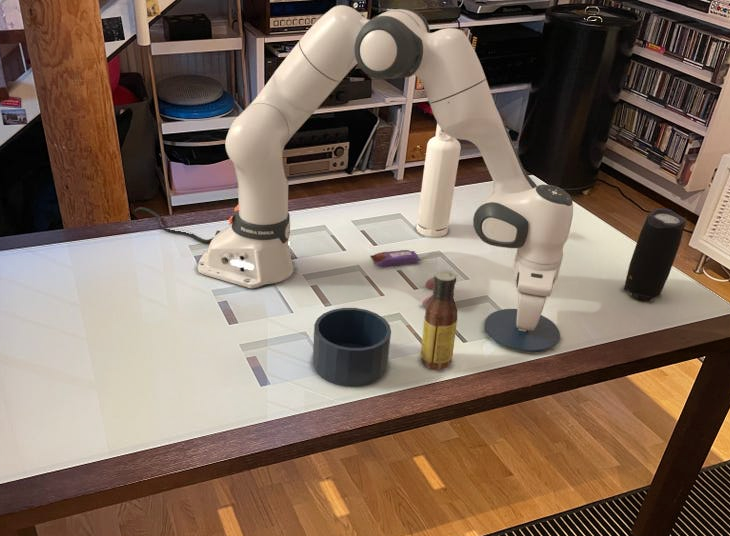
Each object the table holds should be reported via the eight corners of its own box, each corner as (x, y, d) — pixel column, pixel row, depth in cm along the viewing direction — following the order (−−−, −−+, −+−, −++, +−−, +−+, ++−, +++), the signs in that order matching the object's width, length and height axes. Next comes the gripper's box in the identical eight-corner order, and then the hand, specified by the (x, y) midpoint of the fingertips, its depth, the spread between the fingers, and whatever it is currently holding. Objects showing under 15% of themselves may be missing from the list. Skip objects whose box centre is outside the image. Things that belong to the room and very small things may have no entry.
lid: (480, 346, 157) (484, 325, 154) (487, 308, 169) (491, 287, 166) (558, 360, 154) (564, 339, 151) (559, 320, 166) (564, 300, 163)
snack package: (414, 247, 187) (422, 257, 183) (413, 254, 188) (421, 264, 184) (370, 252, 184) (377, 262, 180) (369, 259, 185) (376, 269, 182)
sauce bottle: (454, 357, 153) (470, 271, 142) (445, 374, 149) (461, 287, 137) (423, 349, 155) (436, 263, 144) (413, 365, 151) (426, 278, 139)
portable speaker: (625, 301, 173) (651, 223, 161) (618, 281, 180) (642, 204, 169) (664, 305, 172) (693, 227, 160) (656, 285, 179) (683, 208, 168)
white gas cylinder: (448, 225, 202) (465, 120, 185) (446, 238, 195) (463, 131, 179) (418, 221, 203) (431, 116, 186) (414, 234, 197) (428, 127, 180)
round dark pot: (304, 378, 147) (305, 342, 142) (323, 337, 158) (325, 302, 153) (378, 393, 144) (382, 356, 139) (392, 350, 155) (397, 315, 150)
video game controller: (437, 316, 168) (456, 294, 164) (420, 306, 168) (438, 283, 164) (440, 294, 176) (457, 272, 172) (423, 284, 175) (441, 261, 171)
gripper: (523, 241, 161) (510, 297, 169) (517, 288, 145) (504, 348, 153) (553, 245, 159) (539, 301, 167) (551, 294, 143) (536, 353, 152)
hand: (522, 324), depth 160 cm, fingers closed on lid, 3 cm apart
